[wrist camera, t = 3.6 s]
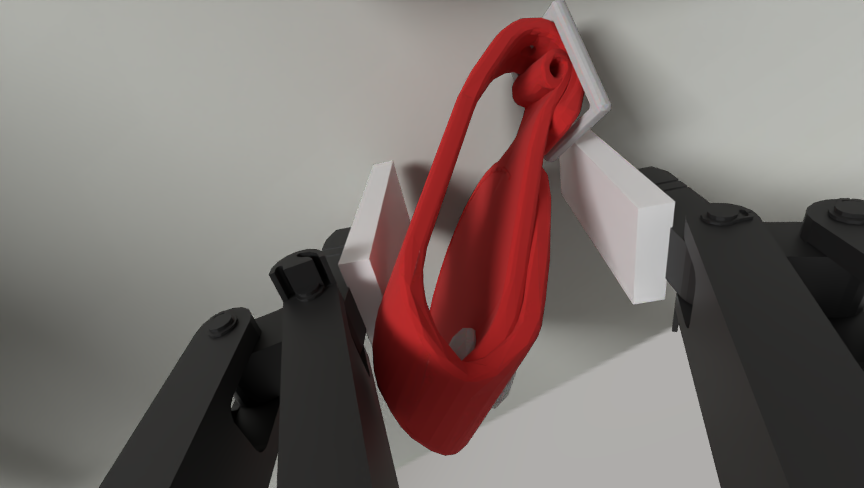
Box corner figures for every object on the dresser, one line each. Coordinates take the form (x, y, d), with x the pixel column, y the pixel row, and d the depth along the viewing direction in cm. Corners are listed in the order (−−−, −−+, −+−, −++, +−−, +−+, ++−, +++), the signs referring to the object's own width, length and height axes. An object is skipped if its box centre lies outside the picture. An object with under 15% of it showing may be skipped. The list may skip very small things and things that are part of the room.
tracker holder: (466, 296, 19) (479, 534, 11) (377, 269, 19) (314, 498, 10) (607, 24, 13) (895, 69, 5) (481, -31, 13) (545, -95, 4)
